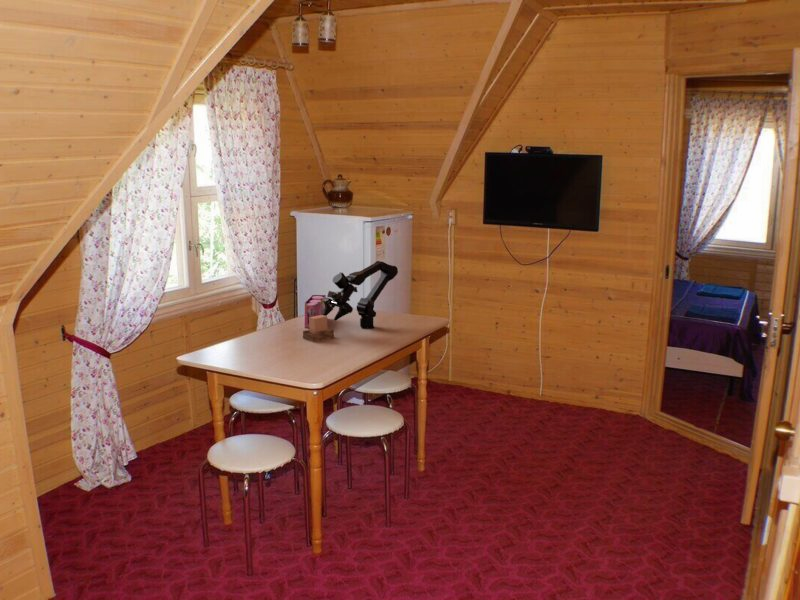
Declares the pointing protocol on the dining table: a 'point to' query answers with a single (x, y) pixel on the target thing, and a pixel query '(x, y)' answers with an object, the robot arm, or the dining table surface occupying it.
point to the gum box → (314, 307)
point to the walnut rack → (318, 335)
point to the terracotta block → (317, 324)
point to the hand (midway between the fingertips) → (328, 318)
